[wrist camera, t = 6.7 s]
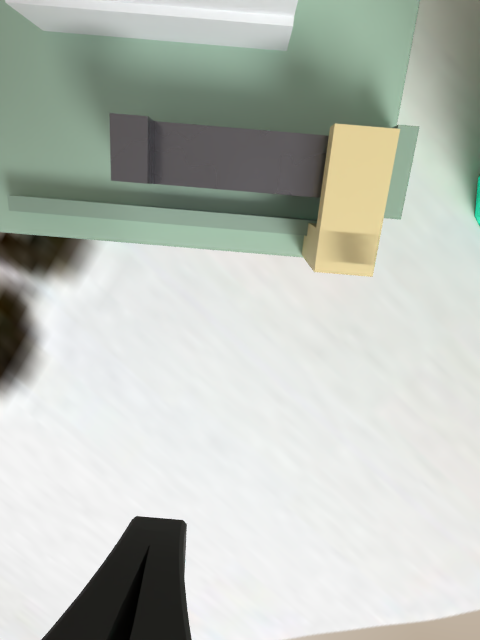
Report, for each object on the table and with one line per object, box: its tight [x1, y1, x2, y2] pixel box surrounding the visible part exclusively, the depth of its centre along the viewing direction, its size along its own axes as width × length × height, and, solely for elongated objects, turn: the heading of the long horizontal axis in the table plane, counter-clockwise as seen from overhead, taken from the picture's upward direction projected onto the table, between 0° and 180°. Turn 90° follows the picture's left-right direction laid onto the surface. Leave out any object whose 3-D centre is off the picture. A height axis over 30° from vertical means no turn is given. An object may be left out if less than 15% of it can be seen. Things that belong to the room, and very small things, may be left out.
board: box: [0, 0, 420, 277], centre depth 14 cm, size 16×12×4 cm
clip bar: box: [109, 113, 329, 198], centre depth 14 cm, size 9×2×3 cm, turn 86°
